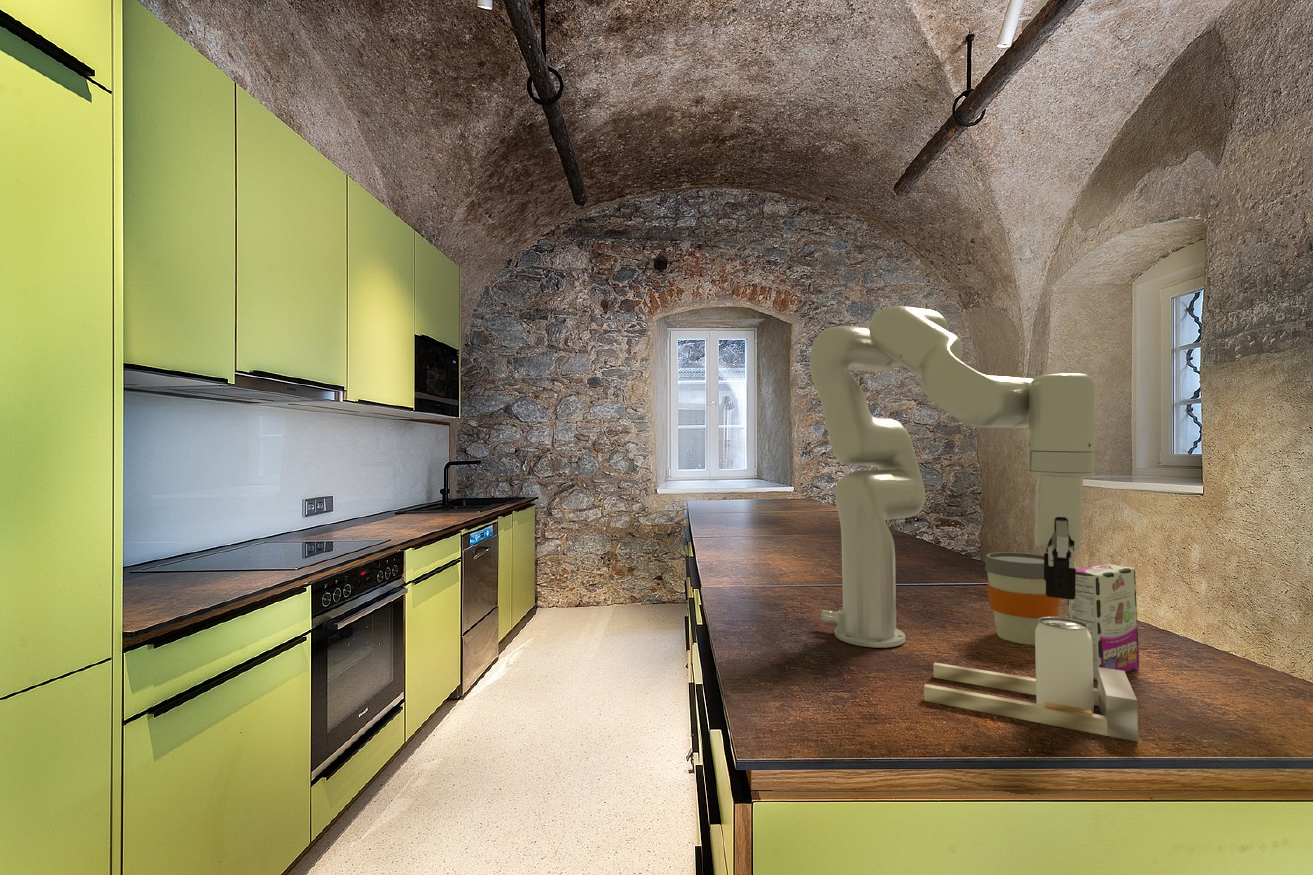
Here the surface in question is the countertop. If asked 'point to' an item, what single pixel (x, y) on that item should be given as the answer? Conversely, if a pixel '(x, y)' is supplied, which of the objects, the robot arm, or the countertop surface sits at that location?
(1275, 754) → the countertop surface
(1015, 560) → the reusable coffee cup
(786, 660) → the countertop surface
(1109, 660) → the candy bar box
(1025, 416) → the robot arm
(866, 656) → the countertop surface
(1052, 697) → the can
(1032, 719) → the beige u-shaped frame
